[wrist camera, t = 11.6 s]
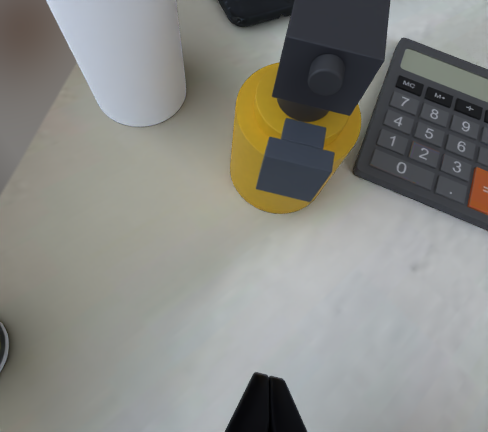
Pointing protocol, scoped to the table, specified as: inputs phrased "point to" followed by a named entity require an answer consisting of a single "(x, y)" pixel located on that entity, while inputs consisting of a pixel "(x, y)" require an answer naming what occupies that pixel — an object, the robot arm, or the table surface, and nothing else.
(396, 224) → the table surface
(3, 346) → the supplement bottle
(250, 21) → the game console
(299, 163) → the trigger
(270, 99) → the spray bottle
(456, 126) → the calculator
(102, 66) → the cylindrical container
